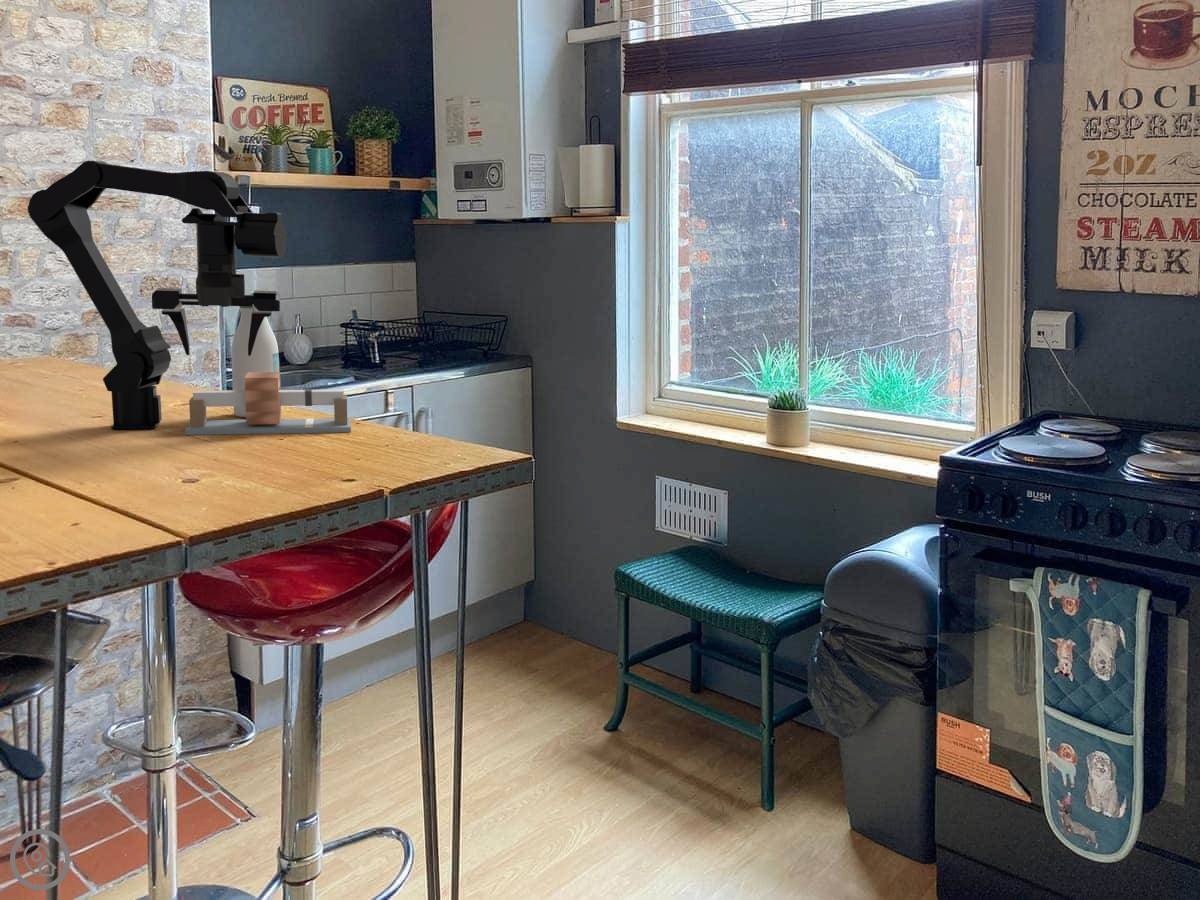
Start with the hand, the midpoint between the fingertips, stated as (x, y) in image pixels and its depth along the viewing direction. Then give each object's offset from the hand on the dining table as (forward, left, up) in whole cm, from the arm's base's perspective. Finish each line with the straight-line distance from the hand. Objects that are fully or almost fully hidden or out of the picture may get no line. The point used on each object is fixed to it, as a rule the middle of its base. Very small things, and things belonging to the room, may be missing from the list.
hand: (218, 355), depth 179 cm
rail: (+8, 0, -12) cm, 14 cm away
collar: (+7, 0, -10) cm, 12 cm away
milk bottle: (+5, +13, -12) cm, 18 cm away
